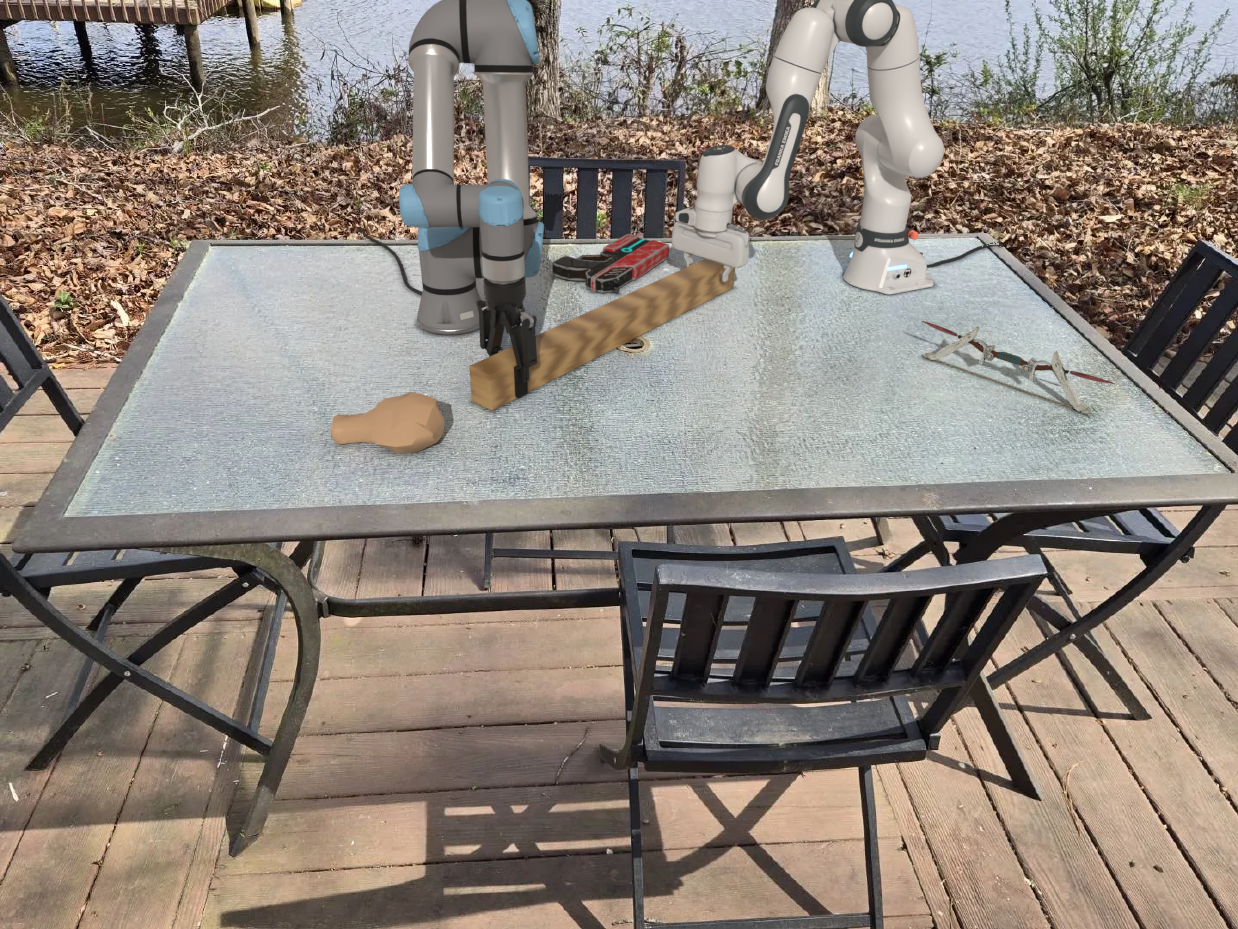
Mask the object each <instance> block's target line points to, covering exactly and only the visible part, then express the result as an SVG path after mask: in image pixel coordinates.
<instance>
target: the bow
mask: <svg viewBox="0 0 1238 929" xmlns="http://www.w3.org/2000/svg"><path fill="white" fill-rule="evenodd" d="M921 322H922V323H924V324H925V325H927V326H929V327H931V328H933V329H935V330H938V331H940V332H942V333H944V334H947V335H949V336H950V335H951V336H953V337H957V339H958V340H957V341H956V342H952V343H950V344H948V345H946V346H944V347H942V348H941V349H939V350H938V351H937V352H925V353H924V354H923V357H924V358H926V360H929V361H937V362H939V363H943V364H945V365H948V366H951V367H954V368H957V369H959V370H962V371H966V372H968V373H971V374H974V375H977V376H980V377H983V378H985V379H987V380H988V379H989V380H991V381H994V382H997V383H1000V384H1003V385H1005V386H1008V387H1012V388H1015V389H1017V390H1020V391H1023V392H1026V393H1028V394H1031V395H1033V396H1037V397H1040V398H1043V399H1046V400H1048V401H1052V402H1055V403H1057V404H1060V405H1063V406H1066V407H1069V408H1072V409H1074V410H1075V411H1077V412H1079V413H1082V414H1090V412H1091V411H1092V409H1090V408H1089V407H1087V406H1085V404H1083V403H1082V402H1080V399H1079V396H1078V393H1077V391H1076V389H1075V386H1074V385H1073V384H1072V382H1071V381H1070V380H1069V378H1068V377H1067V374H1070V375H1073V376H1075V377H1079V378H1082V379H1084V380H1089V381H1094V382H1097V383H1103V384H1109V385H1113V384H1114V382H1113V381H1110V380H1107V379H1103V378H1102V377H1098V376H1094V375H1091V374H1089V373H1088V374H1087V373H1084V372H1081V371H1080V372H1079V371H1075V370H1069V369H1065V367H1064V366H1065V365H1064V363H1063V361H1062V360H1061V359H1060V355H1059V351H1058V350H1055V351H1054V352H1053V353H1052V357H1051V360H1050V361H1051V362H1049V361H1047V360H1037V359H1035V358H1034V357H1031V358H1030V359H1029V360H1024V358H1022V357H1021V356H1019V355H1015V354H1012V353H1010V352H1008V351H996V350H995V349H996V345H995V344H993V345H991V344H990V345H988V344H987V343H986V342H985V341H984V340H982V339H979V338H976V336H978V333H979V329H980V326H978V325H977V326H976V327H974V328H973V329H972V330H971V331H969V332H966V333H965V334H963V335H962V334H958V333H957V332H955V331H952V330H950V329H948V328H946V327H943V326H940V325H937V324H936V323H935V324H934V323H931V322H928V321H925V320H922V321H921ZM975 338H976V339H975ZM969 345H972V346H973V347H974V348H975V349H976V350H978V351H979V352H981V353H982V354H981V357H979V360H978V362H977V364H980V365H983V364H984V363H985V361H988V362H992V361H993V360H994V359H995V358H996V359H998V360H1001V361H1005V362H1007V363H1010V364H1013V365H1016V366H1019V367H1020V366H1021V372H1023V373H1024V374H1029V375H1028V381H1030V382H1034V381H1035V380H1036V372H1037V371H1038V372H1039V371H1041V372H1042V371H1043V372H1044V371H1051V372H1052V373H1053V374H1054V376H1055V377H1056V379H1057V381H1058V382H1059V384H1060V387H1061V389H1062V391H1063V393H1064V394H1065V397H1066V399H1067V401H1068V402H1069V404H1070V405H1069V404H1065V403H1063V402H1061V401H1057V400H1054V399H1051V398H1048V397H1046V396H1043V395H1040V394H1037V393H1034V392H1031V391H1028V390H1025V389H1023V388H1020V387H1016V386H1014V385H1012V384H1008V383H1005V382H1003V381H999V380H996V379H995V378H991V377H988V376H985V375H982V374H979V373H976V372H974V371H971V370H968V369H965V368H962V367H959V366H957V365H954V364H951V363H948V362H945V361H942V360H940V359H942V358H946V357H948V356H949V355H951V354H953V353H954V352H957V351H958V350H959V349H962V348H964V347H966V346H969Z"/></svg>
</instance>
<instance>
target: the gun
mask: <svg viewBox="0 0 1238 929" xmlns="http://www.w3.org/2000/svg"><path fill="white" fill-rule="evenodd" d="M670 250H671V249H670V244H669V243H666V242H662V241H659V240H655V239H653V240H650V239H647V238H642V237H639V235H638V234H633V233H627V234H625V235H623V236H621V237H620V238H617V239H616V240H613V242H610V243H609V244H607V245H605V246H603V248H602V251H600V254H581V255H580V256H577V257H572V256H569V255H567V254H565V255H564V256H561V257H559V258H557V259H555V260H553V261H552V263H551V268H552V269H551V270H552V271H551V274H552V275H553V276H555V277H557V278H559V279H563V280H565V281H566V280H567V281H576V282H577V281H579V282H580V281H581V282H584V281H585V287H586V290H590V292H592V293H595V292H598V293H601V294H605V293H615V294H619V293H620V288H623V287H624V286H625V285H626V284H628V283H630V282H631V281H635V280H637V279H639V278H641V277H643V275H645V274H647V273H648V272H650V271H651V270H653V269H654V268H655V267H657V266H658V265H659V264H661V263H662V262H664V261H665V260H667V259H668V258H669V255H670Z"/></svg>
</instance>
